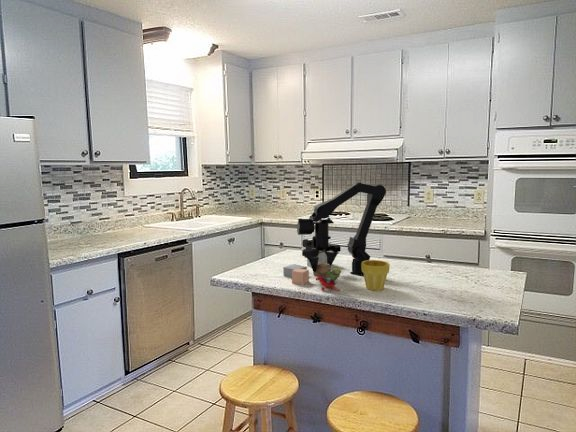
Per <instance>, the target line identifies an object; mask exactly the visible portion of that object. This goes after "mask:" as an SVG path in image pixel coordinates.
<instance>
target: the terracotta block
mask: <svg viewBox="0 0 576 432" xmlns="http://www.w3.org/2000/svg"><path fill="white" fill-rule="evenodd" d="M309 282H310V271H309V269H299V268H298V269H295V270H293V271H292V278H291V284H297V285H302V286H303V285H305V284H307V283H309Z"/></svg>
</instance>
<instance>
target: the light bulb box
mask: <svg viewBox="0 0 576 432" xmlns="http://www.w3.org/2000/svg"><path fill="white" fill-rule="evenodd" d="M329 244H332V243H331V241H329ZM312 249H313V248H312ZM314 249H315V248H314ZM317 257H319V260H318V263H320V262H322V263H327V255H326V254H325V252H322V253H319V255H318V256H317ZM306 267H311V264H310V262H309V260H308V259H307V258H306Z"/></svg>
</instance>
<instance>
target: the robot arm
mask: <svg viewBox="0 0 576 432" xmlns="http://www.w3.org/2000/svg"><path fill="white" fill-rule="evenodd" d="M359 193H363V194H366V205H365V208H364V210H363V213H362V216H361V219H360V222H359V225H358V228H357V231H356V234H355V235H354V236H353V237H352V236H350V237H349V239H348V243H347V244H346V246H347V251H348V253H349V254H350V255H351V257H352V261H351V271H349V272H350V274H352V275H358V276H361V277H364V274H363V272H362V262H363V261H367V260H371V255H369V254H368V253H367V252H366V249H367V236H368V235H369V234H368V233H369V230H370V228H371V225H372V222H373V219H374V217H375V215H376V211H377V208H378V206H379V205H380V203H382V202H383V199H384V198H385V196H386V194H387V189H386V187H385V186H384V185H382V184H376V183H375V184H366V183H362V182H359V181H357V182H356V181H355V182H354V183H353V184H352V185H350V186H349V187H347V188H346V189H344V190H342V191H341V192H340V193H338V194H337V195H335V196H334V197H332V198H330V199H328V200H325V201H322V202H320V203H318V204H316V205H315V206H314V208H313V212H312V214H311V215H310V217H308V218H302V217H301V218H298V219H297V225H296V233H297V235H298V236H300V235H301V236H303V235H304V236H305V235H312V233H314V236H312V239H310V240H309V239H308V238H305V239H303V240H302V242H301V243H302V247H303V249H302V251H301V255H302V257H304V258H306V260H307V259H308V260H309V262H310V264H311V266H310V267H311V269H312V272H316V270H317V265H318V260H319V257H317V256H318V255H319V253H322V252H325V254H326V255H327V264H330V268H331V267H332V265H333V263H334V261H335V259H336V258H337V256H338V254H339V252H341V251H342V250H341V248H342V247H341V246H340V245H339V244H337V243H336V244H335V243H331V244H329V242H330V240H331V236H330V235H329V230H330V229H329V227H330V226H329V225H331V224H334V221H333V220H332V219H331V217H329V216H331V215H332V214H333V213H334V211H335V210H336V209H337V208H338V207H339V206H341V205H343V203H345V202H347V201H348V200H350V199H351V198H353V197H355V196H356V195H357V194H359ZM312 248H313V249H312ZM314 248H315V249H314Z"/></svg>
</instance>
